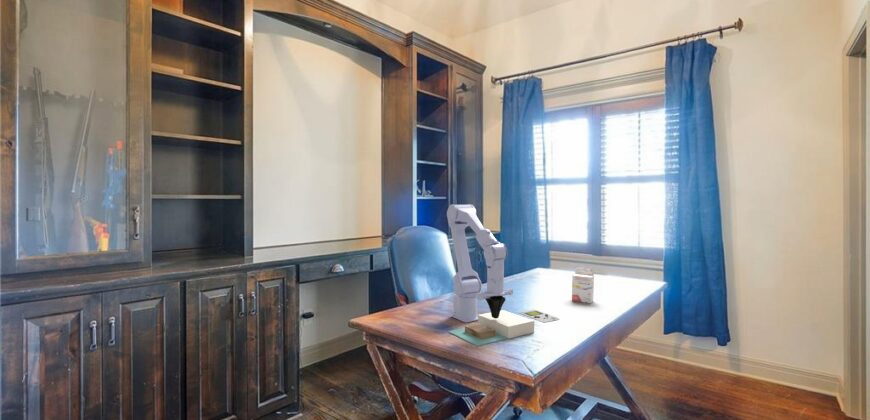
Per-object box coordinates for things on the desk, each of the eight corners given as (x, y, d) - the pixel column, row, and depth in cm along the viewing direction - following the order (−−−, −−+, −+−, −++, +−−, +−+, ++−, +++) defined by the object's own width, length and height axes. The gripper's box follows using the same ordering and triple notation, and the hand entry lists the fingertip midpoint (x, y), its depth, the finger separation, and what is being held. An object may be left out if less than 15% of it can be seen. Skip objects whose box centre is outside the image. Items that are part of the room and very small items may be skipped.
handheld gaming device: (543, 321, 153) (517, 311, 166) (543, 323, 153) (517, 313, 166) (561, 318, 157) (534, 308, 171) (561, 320, 157) (534, 310, 171)
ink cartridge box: (571, 300, 185) (571, 268, 185) (574, 298, 190) (574, 266, 189) (591, 303, 181) (591, 270, 180) (593, 301, 185) (594, 268, 185)
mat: (448, 332, 143) (448, 331, 142) (478, 325, 149) (478, 324, 149) (477, 346, 129) (477, 345, 129) (508, 338, 136) (508, 337, 136)
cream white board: (478, 325, 149) (478, 314, 149) (503, 320, 156) (503, 309, 156) (508, 338, 136) (508, 326, 136) (534, 332, 142) (534, 320, 142)
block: (478, 323, 145) (478, 328, 145) (464, 326, 142) (464, 331, 142) (495, 330, 137) (495, 336, 137) (481, 333, 134) (481, 339, 134)
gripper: (486, 283, 135) (486, 324, 136) (518, 278, 143) (518, 317, 144) (473, 279, 141) (473, 318, 142) (505, 275, 149) (504, 312, 150)
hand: (495, 317), depth 143 cm, fingers closed
